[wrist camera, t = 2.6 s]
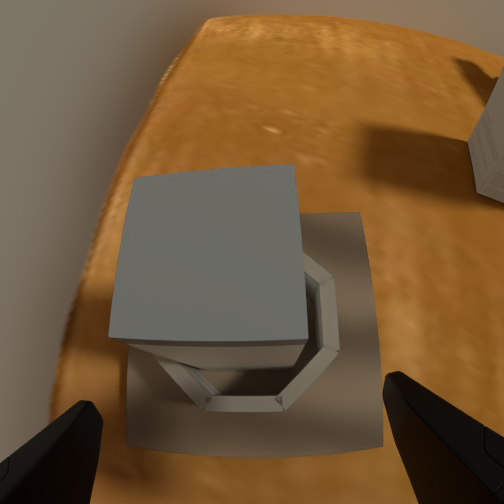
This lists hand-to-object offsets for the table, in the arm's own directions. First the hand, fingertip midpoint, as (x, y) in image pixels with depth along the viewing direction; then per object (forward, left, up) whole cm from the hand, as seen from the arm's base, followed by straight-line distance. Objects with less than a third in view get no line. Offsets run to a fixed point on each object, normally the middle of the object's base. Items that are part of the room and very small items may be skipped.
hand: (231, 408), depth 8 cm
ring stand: (+4, 0, -11) cm, 12 cm away
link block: (+4, 0, -10) cm, 11 cm away
